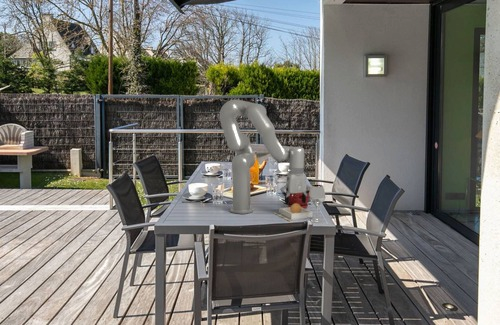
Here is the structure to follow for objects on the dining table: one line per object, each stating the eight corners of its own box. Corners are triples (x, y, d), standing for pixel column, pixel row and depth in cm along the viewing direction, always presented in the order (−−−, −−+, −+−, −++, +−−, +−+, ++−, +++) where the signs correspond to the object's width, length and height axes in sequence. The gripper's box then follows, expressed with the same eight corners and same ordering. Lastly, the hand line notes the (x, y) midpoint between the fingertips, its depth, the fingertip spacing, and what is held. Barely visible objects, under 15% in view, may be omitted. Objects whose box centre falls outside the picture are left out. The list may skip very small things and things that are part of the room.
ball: (287, 213, 258) (288, 202, 258) (298, 213, 261) (298, 201, 260) (293, 216, 253) (293, 205, 252) (303, 215, 255) (303, 204, 254)
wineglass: (323, 219, 250) (324, 184, 248) (326, 223, 242) (327, 187, 240) (307, 219, 250) (307, 184, 248) (309, 223, 242) (310, 187, 239)
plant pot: (284, 209, 271) (285, 188, 269) (288, 204, 283) (288, 184, 282) (308, 211, 268) (308, 189, 266) (311, 206, 280) (311, 185, 279)
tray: (279, 213, 261) (279, 208, 261) (299, 211, 266) (299, 206, 265) (291, 219, 248) (291, 213, 248) (312, 217, 253) (312, 212, 252)
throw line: (273, 213, 262) (273, 212, 262) (275, 213, 262) (275, 212, 262) (290, 222, 244) (290, 221, 244) (293, 221, 244) (293, 221, 244)
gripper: (284, 172, 247) (283, 206, 249) (314, 171, 254) (313, 203, 256) (278, 170, 254) (277, 203, 256) (307, 169, 261) (306, 200, 263)
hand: (295, 203), depth 256 cm, fingers open, 9 cm apart
